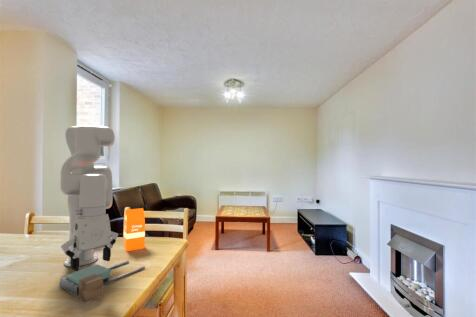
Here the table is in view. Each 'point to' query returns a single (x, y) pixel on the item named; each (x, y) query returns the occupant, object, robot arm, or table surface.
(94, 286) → the block
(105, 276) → the sage green box
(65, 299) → the table surface
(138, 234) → the orange juice
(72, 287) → the track
